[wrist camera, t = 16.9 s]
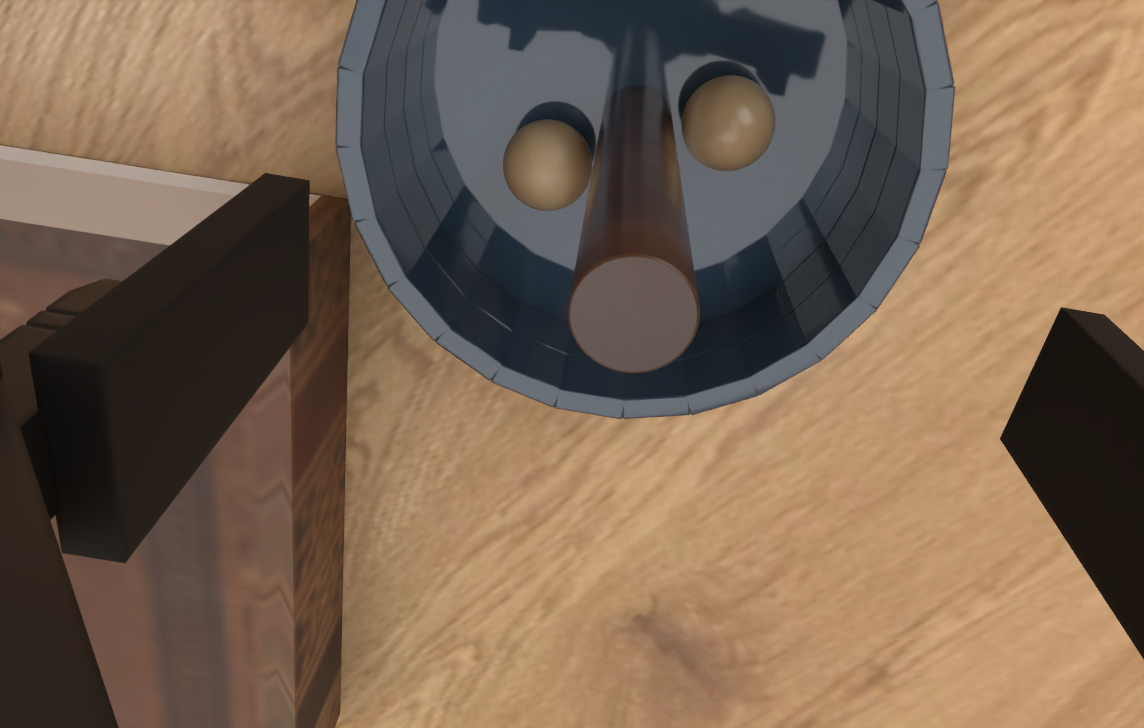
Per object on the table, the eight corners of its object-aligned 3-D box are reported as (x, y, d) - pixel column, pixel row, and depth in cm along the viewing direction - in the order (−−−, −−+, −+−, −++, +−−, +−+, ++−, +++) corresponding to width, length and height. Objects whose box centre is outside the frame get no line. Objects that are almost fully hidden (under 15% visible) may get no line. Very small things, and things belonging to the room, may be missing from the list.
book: (350, 200, 33) (288, 264, 27) (339, 713, 46) (296, 830, 40) (-296, 98, 33) (-496, 140, 27) (-122, 641, 46) (-232, 747, 40)
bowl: (403, -227, 27) (343, -260, 21) (975, -129, 27) (1058, -136, 21) (376, 300, 35) (329, 371, 30) (814, 373, 35) (845, 457, 30)
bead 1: (604, 111, 29) (520, 116, 27) (612, 205, 29) (530, 214, 28) (562, 122, 31) (484, 127, 30) (571, 208, 32) (494, 216, 30)
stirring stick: (608, 79, 30) (578, 243, 15) (678, 92, 30) (713, 266, 15) (596, 149, 31) (558, 362, 17) (664, 162, 31) (684, 384, 17)
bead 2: (698, 53, 29) (769, 56, 27) (738, 115, 31) (807, 123, 29) (647, 124, 28) (715, 133, 26) (691, 183, 30) (758, 196, 28)
